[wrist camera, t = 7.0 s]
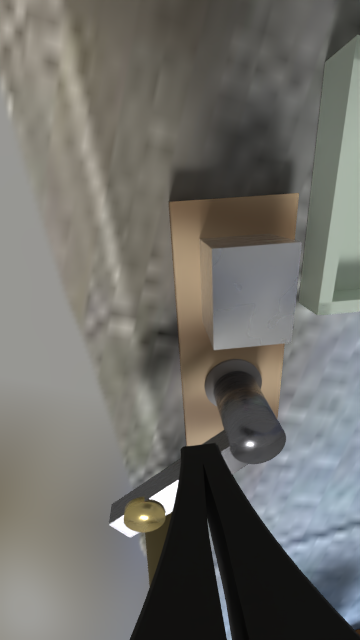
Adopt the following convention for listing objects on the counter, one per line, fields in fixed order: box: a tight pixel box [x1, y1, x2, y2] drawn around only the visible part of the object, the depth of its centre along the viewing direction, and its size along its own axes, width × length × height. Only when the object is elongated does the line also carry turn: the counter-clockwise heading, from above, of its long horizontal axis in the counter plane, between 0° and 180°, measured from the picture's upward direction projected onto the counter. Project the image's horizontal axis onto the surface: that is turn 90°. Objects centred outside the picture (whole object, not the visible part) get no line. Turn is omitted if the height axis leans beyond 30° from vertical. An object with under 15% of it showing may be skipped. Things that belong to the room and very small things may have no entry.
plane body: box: [169, 193, 299, 446], centre depth 19 cm, size 18×7×2 cm, turn 3°
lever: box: [109, 371, 286, 537], centre depth 17 cm, size 12×3×5 cm, turn 129°
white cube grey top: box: [199, 234, 302, 350], centre depth 15 cm, size 5×4×4 cm
